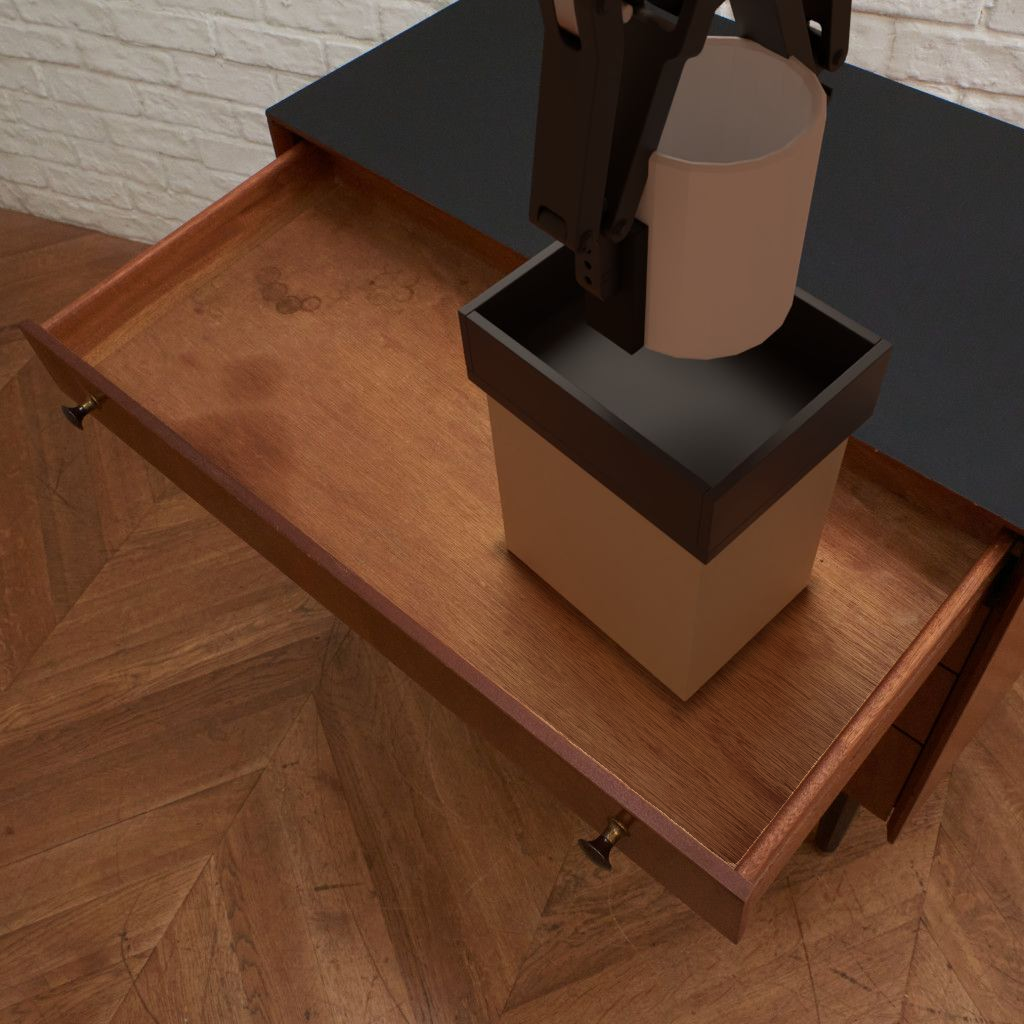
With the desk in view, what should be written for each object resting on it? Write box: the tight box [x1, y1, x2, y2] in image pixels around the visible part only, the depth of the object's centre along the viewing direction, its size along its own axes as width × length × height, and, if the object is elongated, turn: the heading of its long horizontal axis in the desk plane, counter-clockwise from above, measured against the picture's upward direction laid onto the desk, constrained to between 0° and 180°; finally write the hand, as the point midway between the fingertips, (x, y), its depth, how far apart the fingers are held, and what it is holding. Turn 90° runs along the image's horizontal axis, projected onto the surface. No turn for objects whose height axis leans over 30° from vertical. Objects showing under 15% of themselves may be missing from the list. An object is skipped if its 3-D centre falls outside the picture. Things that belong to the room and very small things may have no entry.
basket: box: [457, 239, 894, 565], centre depth 55 cm, size 16×12×5 cm
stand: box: [485, 393, 850, 703], centre depth 64 cm, size 15×11×16 cm
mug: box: [635, 35, 827, 360], centre depth 47 cm, size 8×12×10 cm
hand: (685, 280), depth 50 cm, fingers closed on mug, 8 cm apart
